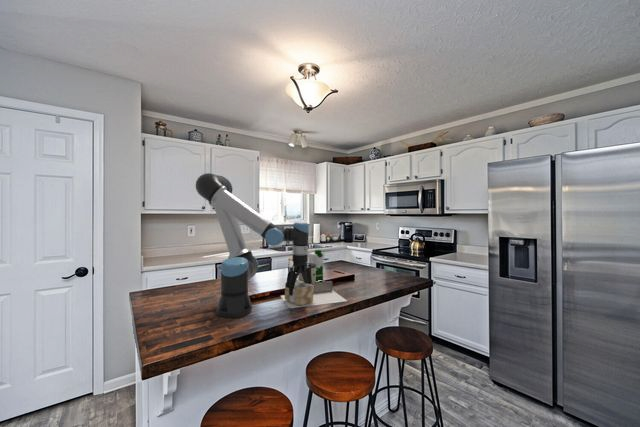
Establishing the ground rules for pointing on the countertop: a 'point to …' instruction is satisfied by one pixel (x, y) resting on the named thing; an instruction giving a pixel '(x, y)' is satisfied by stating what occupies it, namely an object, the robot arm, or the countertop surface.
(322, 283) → the ledge rail
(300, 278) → the coffee can
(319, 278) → the milk carton
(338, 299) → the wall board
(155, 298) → the countertop surface
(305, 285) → the beige rounded block
